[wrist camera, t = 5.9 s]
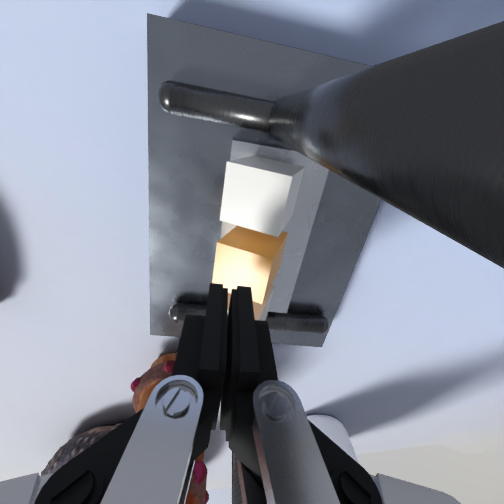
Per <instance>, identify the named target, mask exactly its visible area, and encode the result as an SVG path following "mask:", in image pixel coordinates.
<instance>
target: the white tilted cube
mask: <svg viewBox="0 0 504 504" xmlns="http://www.w3.org/2000/svg"><path fill="white" fill-rule="evenodd" d="M304 168H305V167H303V166H299V165H294V164H290V163H285V162H281V161H276V160H272V159H267V158H263V157H258V156H249V157H245V158H240V159H235V160H231V161H227V163H226V172H225V180H224V188H223V196H222V205H221V213H220V221H223V222H227V223H230V224H234V225H237V226H241V227H244V228H248V229H252V230H255V231H259V232H262V233H266V234H269V235H273V236H276V237H279V235H280V234H281V232H282V230H283V229H284V227H285V226H286V224H287V223H288V221H289V220H290V218H291V217H292V215H293V212H294V208H295V204H296V200H297V196H298V192H299V188H300V184H301V180H302V176H303V172H304Z"/></svg>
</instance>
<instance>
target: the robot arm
mask: <svg viewBox="0 0 504 504" xmlns="http://www.w3.org/2000/svg"><path fill="white" fill-rule="evenodd" d="M220 401H221V413H220V430H226V441H229V448H230V449H231V450H232V452H233V453H234V454H235V455H236V456H237V467H238V474H239V481H240V489H241V496H242V503H243V504H461V503H459V502H458V501H457V500H456V499H455V498H453V497H452V496H450V495H448V494H446V493H444V492H440V491H437V490H434V489H431V488H427V487H424V486H420V485H416V484H413V483H410V482H406V481H403V480H400V479H396V478H393V477H389V476H385V475H383V474H379V473H378V474H377V475H376V476H373V475H370V474H368V472H367V471H366V470H365V469H364V468H363V467H362V466H360V464H358V463H357V462H356V461H355V460H354V459H353V458H352V457H350V456H349V455H348V454H347V453H346V452H345V451H344V450H342V449H341V448H340V447H339V446H338V445H337V444H336V443H334V442H333V441H332V440H331V439H330V438H329V437H328V436H326V435H325V434H324V433H323V432H322V431H321V430H320V429H318V428H317V427H316V426H315V425H314V424H313V423H312V422H311V421H309V420H308V419H307V416H306V414H305V411H304V409H303V406H302V403H301V401H300V399H299V397H298V395H297V393H296V392H295V391H294V390H293V389H292V387H290V386H289V385H287V384H286V383H284V382H281V381H279V380H278V377H277V372H276V366H275V360H274V354H273V348H272V343H271V337H270V331H269V325H268V322H267V321H262V320H255V318H254V309H253V300H252V291H251V287H245V286H237V289H232V291H231V297H230V303H229V309H228V288H223V284H216V283H210V286H209V293H208V301H207V308H206V316H202V315H190V314H186V316H185V320H184V324H183V328H182V333H181V337H180V341H179V346H178V350H177V354H176V359H175V363H174V367H173V371H172V376H170V377H168V378H166V379H164V380H162V381H161V382H160V383H159V384H158V385H156V386H155V388H154V390H153V391H152V393H151V395H150V397H149V399H148V401H147V403H146V405H145V407H144V408H143V409H141V410H140V411H139V412H137V413H136V414H134V415H133V416H132V417H130V418H129V419H127V420H126V421H125V422H123V423H122V424H120V425H119V426H118V427H116V428H115V429H113V430H112V431H111V432H109V433H108V434H106V435H105V436H104V437H102V438H101V439H99V440H98V441H97V442H95V443H94V444H92V445H91V446H90V447H88V448H87V449H85V450H84V451H83V452H81V453H80V454H78V455H77V456H76V457H74V458H73V459H71V460H70V461H69V462H67V463H66V464H64V465H63V466H62V467H61V468H59V469H58V470H57V471H56V472H55V473H51V474H47V475H43V476H39V473H35V474H31V475H27V476H22V477H18V478H14V479H10V480H6V481H1V482H0V504H185V502H186V497H187V493H188V489H189V485H190V481H191V476H192V472H193V468H194V464H195V460H196V459H197V458H198V457H199V456H200V455H201V454H202V453H203V452H204V451H205V449H206V448H207V447H208V444H209V439H210V433H211V430H215V428H216V423H217V417H218V412H219V406H220Z"/></svg>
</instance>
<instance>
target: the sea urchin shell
mask: <svg viewBox="0 0 504 504" xmlns="http://www.w3.org/2000/svg"><path fill="white" fill-rule="evenodd" d="M120 424H122V423H119V424H116V425H114V426H102V427H96V428H92V429H90V430H88V431H86V432H84V433H81V434H78V435H77V436H75V437H74V438H72V439H70V440H69V441H68V442H67V443H66V444H65V445H63V446H62V447H60V449H59V450H58V451H57V452H56V453H55V455H54V456H53V458H52V459H51V460H50V461H49V462H48V465H47V466H46V468H45V469H44V470H43V471H42V472H41V476H43V475H47V474H51V473H55V472H56V471H57V470H58V469H59V468H61V467H62V466H63V465H64V464H66V463H67V462H69V461H70V460H71V459H73V458H74V457H76V456H77V455H78V454H80V453H81V452H83V451H84V450H85V449H87V448H88V447H90V446H91V445H92V444H94V443H95V442H97V441H98V440H99V439H101V438H102V437H104V436H105V435H106V434H108V433H109V432H111V431H112V430H113V429H115V428H116V427H118V426H119V425H120Z"/></svg>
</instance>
